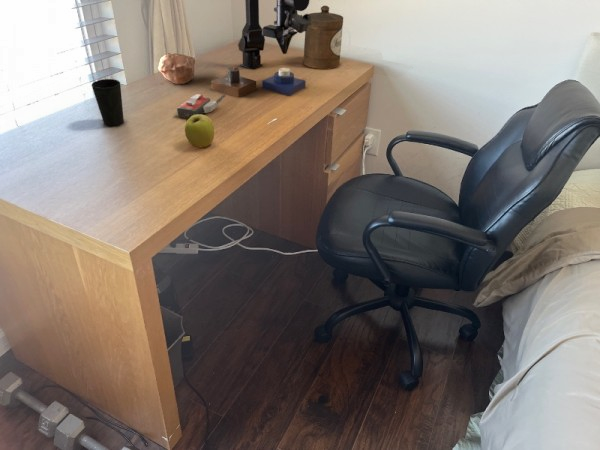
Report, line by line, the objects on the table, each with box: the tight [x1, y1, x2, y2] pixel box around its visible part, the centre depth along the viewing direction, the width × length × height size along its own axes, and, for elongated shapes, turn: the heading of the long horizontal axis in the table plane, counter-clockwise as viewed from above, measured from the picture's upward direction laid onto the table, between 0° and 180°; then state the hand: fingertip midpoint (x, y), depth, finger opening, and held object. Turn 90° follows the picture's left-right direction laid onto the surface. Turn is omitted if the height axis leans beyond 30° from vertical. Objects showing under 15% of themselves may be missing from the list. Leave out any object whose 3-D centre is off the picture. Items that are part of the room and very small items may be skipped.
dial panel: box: [211, 74, 257, 98], centre depth 167 cm, size 12×10×3 cm
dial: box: [227, 66, 241, 83], centre depth 165 cm, size 4×4×4 cm
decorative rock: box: [157, 52, 196, 85], centre depth 170 cm, size 13×11×10 cm
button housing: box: [261, 71, 307, 97], centre depth 170 cm, size 12×10×5 cm
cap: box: [278, 67, 291, 77], centre depth 168 cm, size 4×4×2 cm
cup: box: [91, 78, 125, 128], centre depth 139 cm, size 8×8×12 cm
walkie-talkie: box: [176, 93, 226, 120], centre depth 152 cm, size 9×4×20 cm
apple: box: [184, 114, 215, 148], centre depth 130 cm, size 8×8×10 cm
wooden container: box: [303, 5, 344, 70], centre depth 189 cm, size 15×15×22 cm
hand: (284, 53), depth 164 cm, fingers closed
